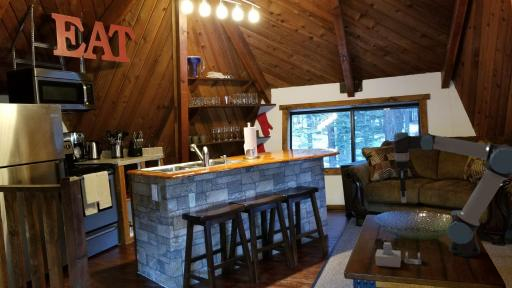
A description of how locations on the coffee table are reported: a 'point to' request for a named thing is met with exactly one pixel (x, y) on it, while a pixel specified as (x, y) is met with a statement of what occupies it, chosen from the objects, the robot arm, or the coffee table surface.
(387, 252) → the plug
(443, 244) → the coffee table surface
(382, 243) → the electronic device
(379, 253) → the panel
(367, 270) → the coffee table surface
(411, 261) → the holster
